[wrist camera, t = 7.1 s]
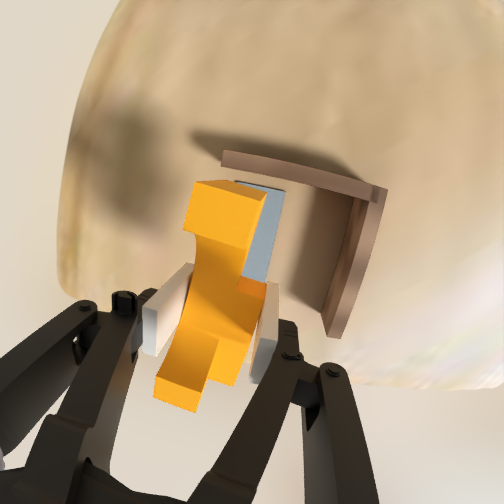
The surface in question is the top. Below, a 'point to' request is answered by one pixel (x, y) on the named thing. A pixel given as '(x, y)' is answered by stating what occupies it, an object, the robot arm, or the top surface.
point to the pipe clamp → (215, 294)
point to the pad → (263, 235)
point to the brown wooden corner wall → (356, 236)
